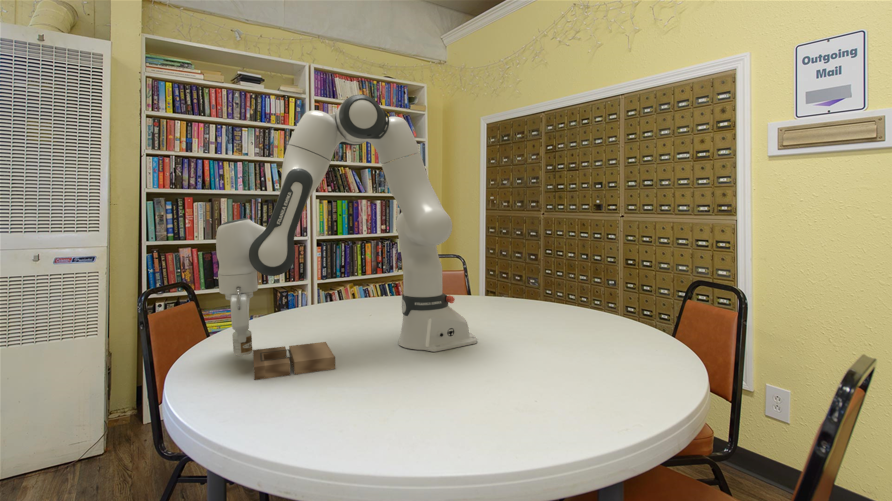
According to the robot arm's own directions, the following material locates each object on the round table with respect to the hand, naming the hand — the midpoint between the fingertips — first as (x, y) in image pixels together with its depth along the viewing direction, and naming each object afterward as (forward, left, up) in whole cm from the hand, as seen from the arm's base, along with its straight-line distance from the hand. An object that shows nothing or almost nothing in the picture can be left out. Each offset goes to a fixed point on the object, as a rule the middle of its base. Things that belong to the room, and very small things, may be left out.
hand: (242, 338), depth 118 cm
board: (-11, +8, -6) cm, 15 cm away
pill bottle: (0, 0, -4) cm, 4 cm away
